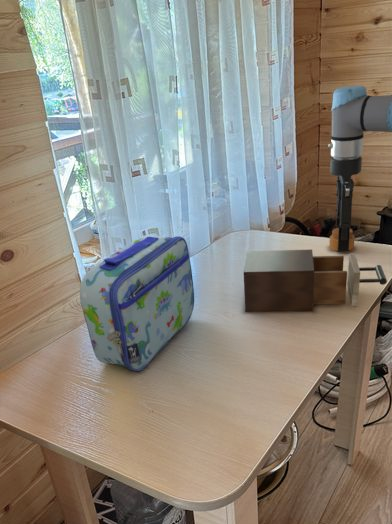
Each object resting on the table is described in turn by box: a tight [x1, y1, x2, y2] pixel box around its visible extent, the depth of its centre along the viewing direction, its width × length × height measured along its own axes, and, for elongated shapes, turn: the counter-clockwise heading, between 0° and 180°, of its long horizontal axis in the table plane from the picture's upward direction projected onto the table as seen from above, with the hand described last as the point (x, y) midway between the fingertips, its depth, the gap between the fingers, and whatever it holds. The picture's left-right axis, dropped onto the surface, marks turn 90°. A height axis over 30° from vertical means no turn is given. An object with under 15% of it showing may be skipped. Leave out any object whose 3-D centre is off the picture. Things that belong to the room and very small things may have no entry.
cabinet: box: [243, 249, 314, 313], centre depth 115 cm, size 15×12×10 cm
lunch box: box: [79, 234, 195, 372], centre depth 100 cm, size 26×11×21 cm, turn 150°
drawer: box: [313, 252, 388, 307], centre depth 112 cm, size 19×10×8 cm, turn 81°
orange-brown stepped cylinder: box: [329, 227, 356, 252], centre depth 138 cm, size 6×6×4 cm
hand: (342, 245), depth 139 cm, fingers closed on orange-brown stepped cylinder, 6 cm apart
